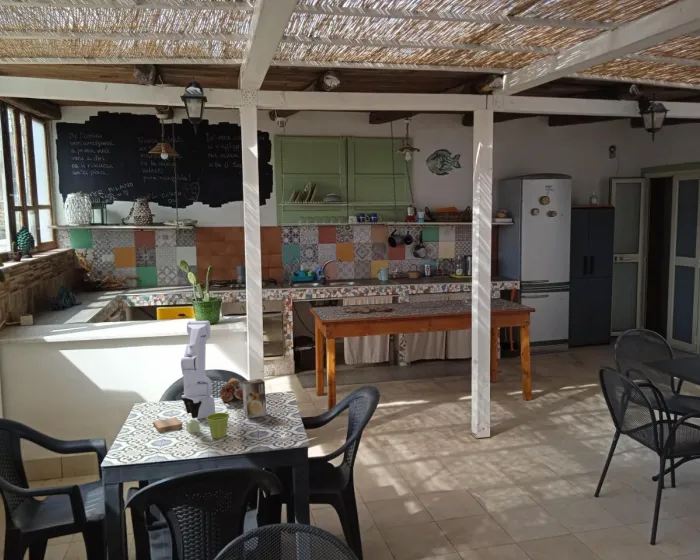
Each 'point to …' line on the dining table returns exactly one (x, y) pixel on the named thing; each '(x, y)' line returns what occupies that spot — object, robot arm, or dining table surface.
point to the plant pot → (218, 424)
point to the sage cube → (192, 425)
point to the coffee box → (254, 398)
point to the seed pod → (231, 390)
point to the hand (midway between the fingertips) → (192, 415)
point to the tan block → (167, 424)
